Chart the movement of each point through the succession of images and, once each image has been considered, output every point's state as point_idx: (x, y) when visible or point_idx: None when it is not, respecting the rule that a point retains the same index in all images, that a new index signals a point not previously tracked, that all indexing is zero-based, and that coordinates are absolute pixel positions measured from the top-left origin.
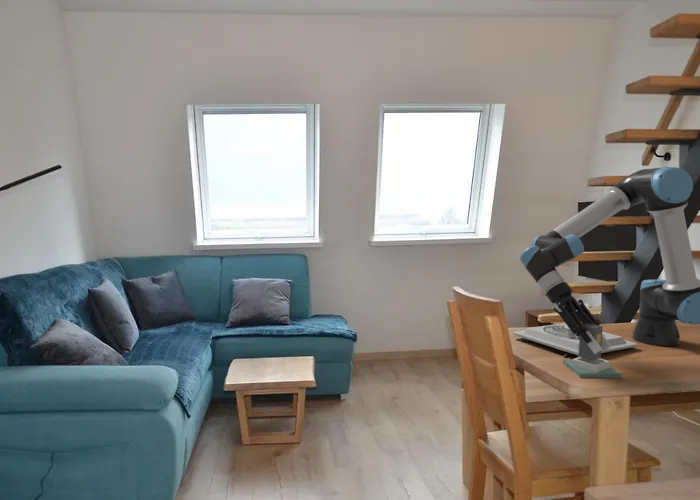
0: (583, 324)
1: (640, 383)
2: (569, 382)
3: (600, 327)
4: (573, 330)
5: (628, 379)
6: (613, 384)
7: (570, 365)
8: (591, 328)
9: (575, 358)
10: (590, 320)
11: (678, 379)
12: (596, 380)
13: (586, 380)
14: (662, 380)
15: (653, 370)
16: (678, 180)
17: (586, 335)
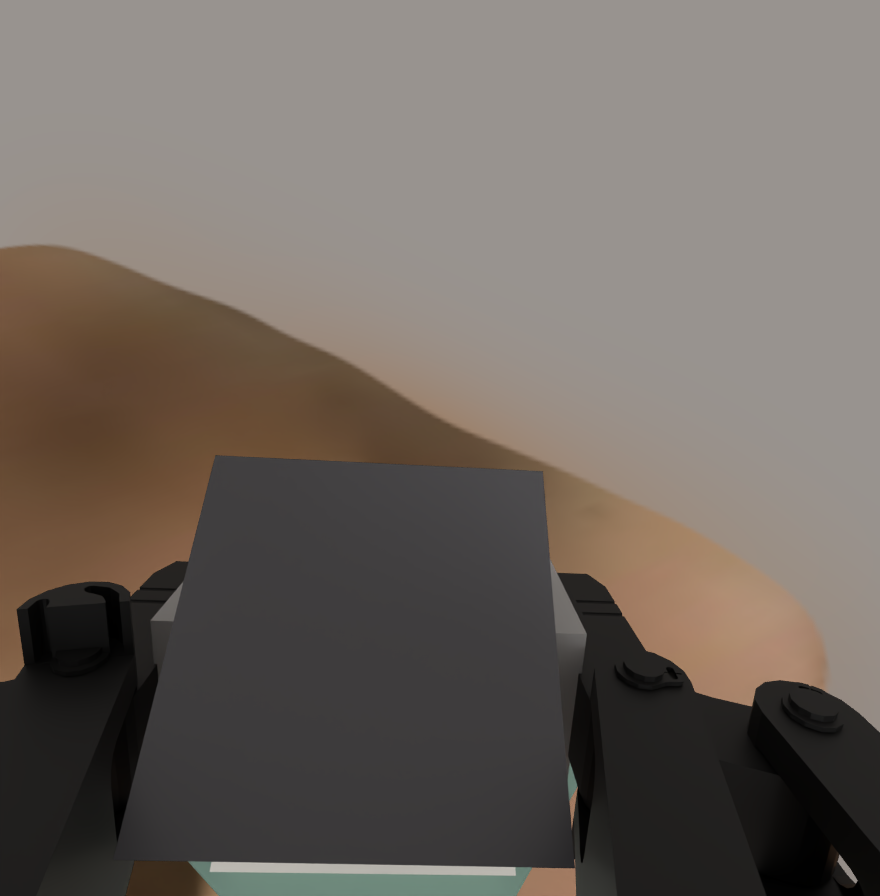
0: (418, 853)
1: (371, 379)
2: (793, 677)
3: (311, 465)
4: (830, 887)
5: (355, 445)
6: (533, 467)
7: (518, 879)
8: (544, 547)
9: (458, 867)
10: (19, 817)
11: (122, 282)
12: (565, 568)
13: (633, 615)
14: (210, 325)
15: (15, 410)
16: None
17: (614, 631)
